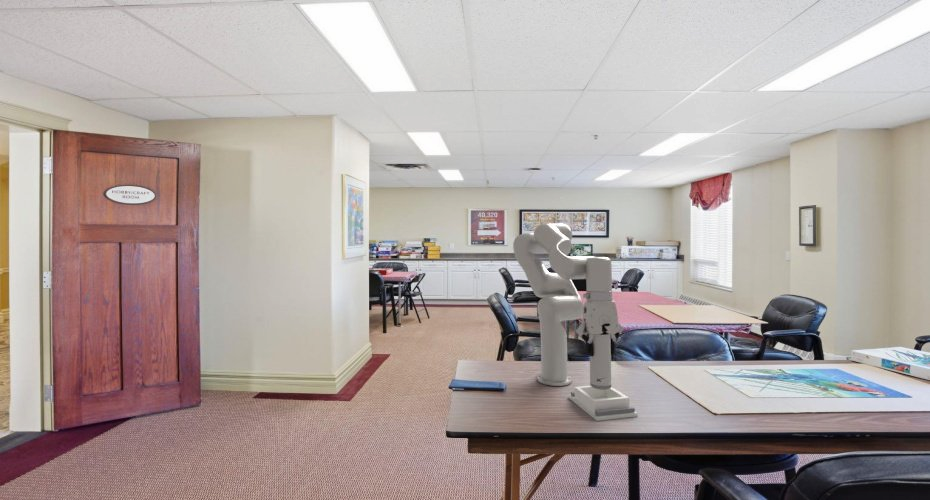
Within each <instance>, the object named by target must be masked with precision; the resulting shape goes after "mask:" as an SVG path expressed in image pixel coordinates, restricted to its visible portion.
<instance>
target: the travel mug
mask: <svg viewBox="0 0 930 500" xmlns="http://www.w3.org/2000/svg"><path fill="white" fill-rule="evenodd" d="M605 326H610V324H605V325H602V332H603V333H602V334H600V335H594V337H593V340H592V343H593V345H594V356H589V380H590V381H589V384H590V385H589V386H591V387H593V388H595V389H601V390H605V389H610V388H611V387H612V354H611V336H610V334H608V333H607V332H606V331H608V330H607V329H606V328H605Z"/></svg>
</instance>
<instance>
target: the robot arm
mask: <svg viewBox="0 0 930 500" xmlns="http://www.w3.org/2000/svg"><path fill="white" fill-rule="evenodd" d="M572 232H573V231H572V229H571V228H570V226H569V225H567V224H565V223H542V224H539V225H537V226H536V228H535V229H534V232H533V233H532V232H527V233H521V234H518V235H517V236H516V237H515V238H514V239H513V243H512V244H513V246H512V248H513V249H512V250H513V253H514V257H515V259H516V261H517V263H518V264H519V266H520V267H521V269H522V270H523V271H524V274H525V276H526V279H527V280H528V284H529V285H530V288H531V290H532V292H533V293H534V295H535V296H536V297H538V298H540V300H538V303H537V314H538V320H539V328H540V329H539V330H540V358H541V359H540V362H541V363H540V365H541V366H540V367H541V369H540V370H541V371H540V372H541V373H539V374H538V375H537V377H536V379H537V382H539V383H540V384H543V385H545V386H552V387H563V386H567V385H570V384H572V382H573V378H572V376H570V375H568V339H567V338H568V335H567V330H566V328H565V327H564V325H563V324H562V322H565V321H574V320H580V319H582V322H581V324H580V325H579V326H578V327H577V329H576V330H575V333H576V334H577V336H579V337H580V338H581V339H582V340H583V341H584V342H585V353H586V355H587V356H589V357H590V356H594V345H593V343H592V340H593V337H594V335H600V334H602V333H603V332H602V325H605V324H610V326H605V328H606V329H607V330H608V331H606V332H607V333H608V334H610V336H611V356H613V355H615V351H616V347H615V346H616V345H615V342H617V339H618V338H619V337H620V335H621V334H622V332H623V331H624V330H625V329H624V327H623V326H622V325H621V324H620V323H619V315H618V308H617V305H616V304H617V303H616V301H615V300H613V281H612V280H613V278H612V277H613V276H612V274H613V273H612V260H611V258H609V257H606V256H594V255H584V256H583V255H576V256H575V255H573V256H572V255H571V256H568V255H569V254H570V252H571V250H572V248H573V247H572V244H573V243H572V239H573V233H572ZM536 254H539V255H540V254H541V255H542V254H548V262H549V266H550V268H551V269H552V271H553V272H549V270H548V269H547V267H546V265H545V262H543V261H542V260H541V259H540V258H539V257H537V256H536ZM573 280H585V281H586V291H585V293H583V294H582V297H583V299H585V301H584V302H583V299H582V297H581V296H580V293H579V292H578V289H577V287H576V286H575V284H574V282H573Z"/></svg>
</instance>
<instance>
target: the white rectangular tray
mask: <svg viewBox="0 0 930 500" xmlns="http://www.w3.org/2000/svg"><path fill="white" fill-rule="evenodd" d="M568 399H569V400H571V401H572V402H573V403H574V404H576V405H577V406H578V407H579V408H580V409H582V411H584V412H585V413H587V415H589V416H590V417H592V418H593V419H594V420H595V421H597V422H598V421H609V420H616V419H617V420H618V419H625V418H626V419H627V418H634V417H638V416H639V415H638V412H637V411H636V409H635V407H633V406H630V397H629V396H627V395H625V394H624V393H622V392H620V391H619V390H618V389H616V388H614V387H613V386H611V388H610V389H605V390H601V389H595V388H593V387H591V385H582V386H574V391H570V394H568Z"/></svg>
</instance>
